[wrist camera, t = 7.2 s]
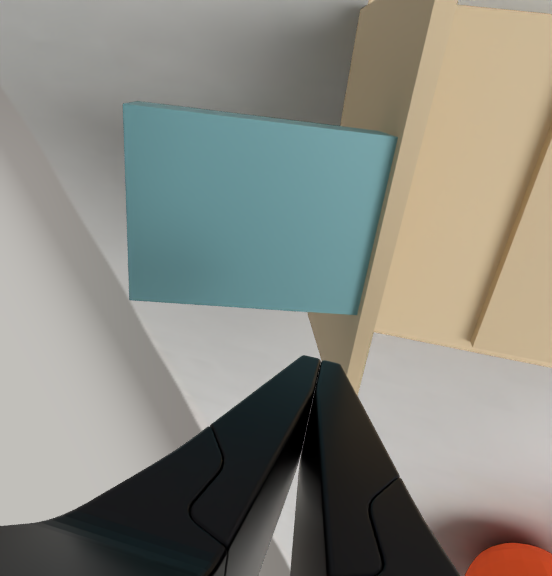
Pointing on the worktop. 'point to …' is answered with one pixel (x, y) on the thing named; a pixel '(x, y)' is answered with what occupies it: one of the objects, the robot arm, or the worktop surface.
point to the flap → (289, 190)
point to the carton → (481, 197)
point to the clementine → (512, 561)
